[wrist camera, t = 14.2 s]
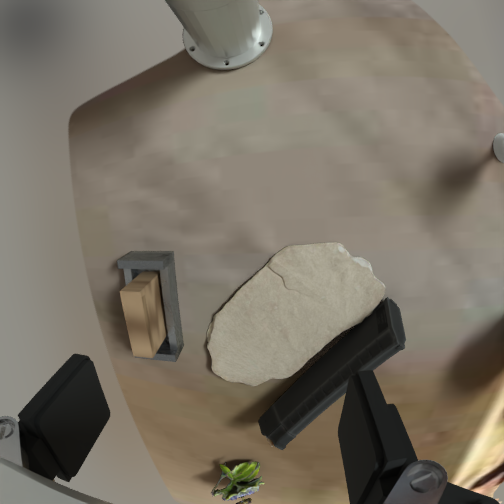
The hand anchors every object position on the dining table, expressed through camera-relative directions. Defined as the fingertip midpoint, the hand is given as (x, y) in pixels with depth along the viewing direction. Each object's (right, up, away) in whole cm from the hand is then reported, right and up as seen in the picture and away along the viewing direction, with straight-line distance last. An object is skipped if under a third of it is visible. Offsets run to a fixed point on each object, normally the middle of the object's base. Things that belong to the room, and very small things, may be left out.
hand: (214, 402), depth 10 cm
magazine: (+13, -13, +39) cm, 43 cm away
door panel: (-14, -3, +36) cm, 39 cm away
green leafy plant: (-2, -44, +48) cm, 65 cm away
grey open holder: (-14, -2, +37) cm, 40 cm away
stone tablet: (+6, -4, +37) cm, 38 cm away
